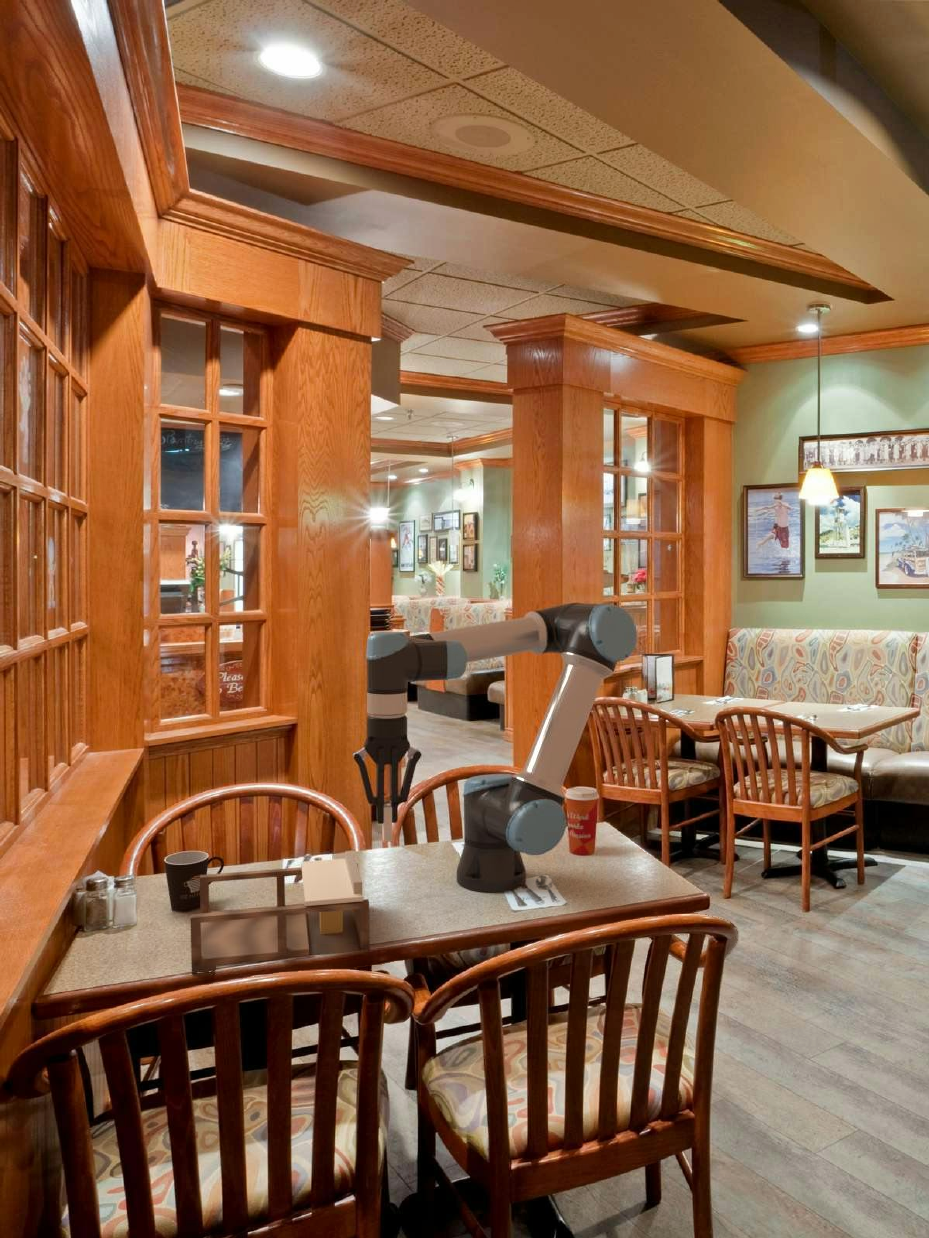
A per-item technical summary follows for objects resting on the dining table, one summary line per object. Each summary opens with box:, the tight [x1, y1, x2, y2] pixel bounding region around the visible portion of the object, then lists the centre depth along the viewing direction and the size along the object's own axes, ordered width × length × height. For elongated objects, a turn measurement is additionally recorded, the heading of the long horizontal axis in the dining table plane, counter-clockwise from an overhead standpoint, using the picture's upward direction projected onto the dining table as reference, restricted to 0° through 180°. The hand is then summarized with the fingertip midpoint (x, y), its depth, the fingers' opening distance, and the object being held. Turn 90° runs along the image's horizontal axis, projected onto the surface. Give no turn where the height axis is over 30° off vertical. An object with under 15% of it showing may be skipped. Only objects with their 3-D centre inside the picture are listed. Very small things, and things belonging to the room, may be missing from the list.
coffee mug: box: [163, 850, 225, 913], centre depth 180 cm, size 12×9×10 cm
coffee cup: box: [564, 786, 600, 857], centre depth 212 cm, size 8×8×15 cm
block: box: [320, 910, 343, 934], centre depth 164 cm, size 4×4×8 cm
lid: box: [300, 850, 364, 906], centre depth 164 cm, size 10×22×3 cm, turn 12°
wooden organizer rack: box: [189, 862, 371, 975], centre depth 163 cm, size 30×22×10 cm
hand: (387, 839), depth 166 cm, fingers closed
